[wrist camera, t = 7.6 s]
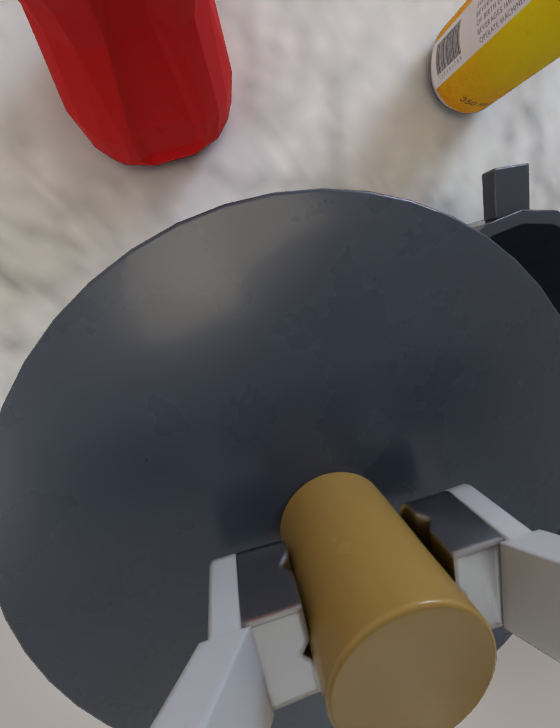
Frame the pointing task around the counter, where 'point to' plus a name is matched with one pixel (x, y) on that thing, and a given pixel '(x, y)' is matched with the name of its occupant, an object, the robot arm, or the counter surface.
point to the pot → (522, 227)
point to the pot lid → (277, 450)
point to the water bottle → (138, 73)
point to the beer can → (493, 50)
